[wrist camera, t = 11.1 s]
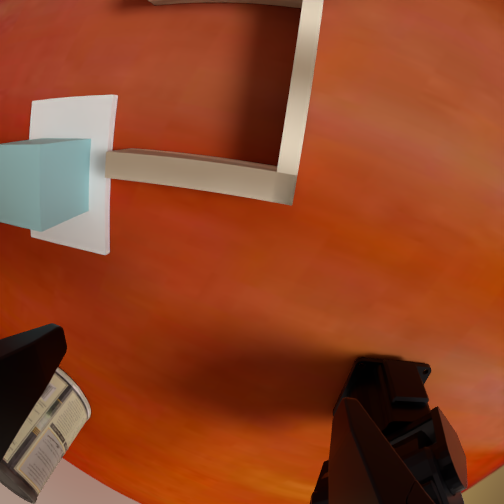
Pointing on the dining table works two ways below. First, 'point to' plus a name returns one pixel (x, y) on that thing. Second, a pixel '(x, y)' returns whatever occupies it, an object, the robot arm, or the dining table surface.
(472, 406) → the dining table surface
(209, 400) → the dining table surface
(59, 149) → the teal cube
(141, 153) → the birch cubby
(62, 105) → the white flat slab
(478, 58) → the dining table surface
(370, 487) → the robot arm
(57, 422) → the coffee can
